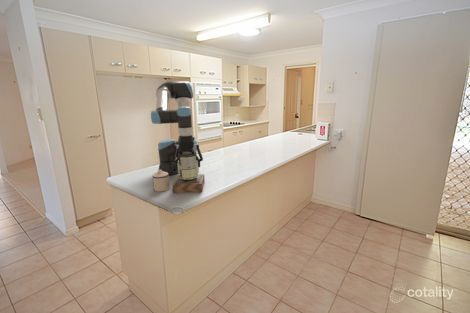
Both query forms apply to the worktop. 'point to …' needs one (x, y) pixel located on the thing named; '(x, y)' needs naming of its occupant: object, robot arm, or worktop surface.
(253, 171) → the worktop surface
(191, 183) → the riser block
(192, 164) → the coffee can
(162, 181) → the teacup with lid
